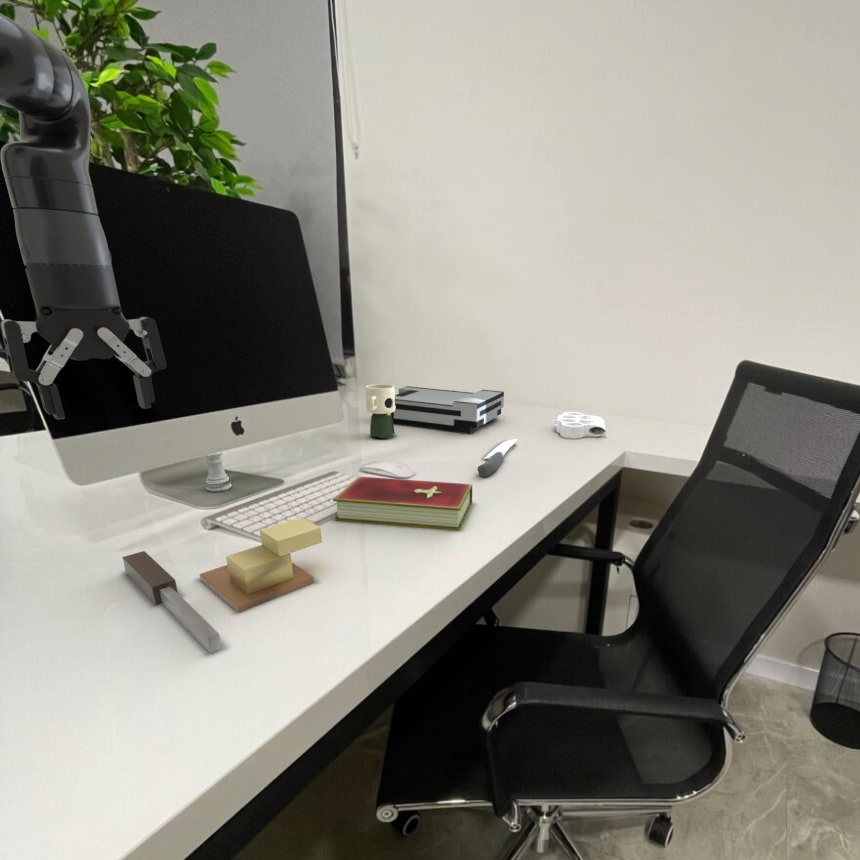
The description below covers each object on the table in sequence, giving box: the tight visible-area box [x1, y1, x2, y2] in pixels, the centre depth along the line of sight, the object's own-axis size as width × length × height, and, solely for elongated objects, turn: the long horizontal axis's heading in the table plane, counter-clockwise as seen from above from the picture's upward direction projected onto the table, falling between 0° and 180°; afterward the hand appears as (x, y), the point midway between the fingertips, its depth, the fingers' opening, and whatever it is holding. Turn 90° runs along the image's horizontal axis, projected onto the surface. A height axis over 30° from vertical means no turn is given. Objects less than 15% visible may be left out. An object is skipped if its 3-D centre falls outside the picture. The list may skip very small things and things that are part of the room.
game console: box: [391, 385, 505, 434], centre depth 158 cm, size 21×32×8 cm, turn 70°
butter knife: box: [122, 550, 223, 655], centre depth 66 cm, size 3×25×3 cm, turn 48°
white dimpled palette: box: [551, 411, 607, 440], centre depth 153 cm, size 3×18×15 cm
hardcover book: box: [332, 476, 473, 532], centre depth 95 cm, size 12×21×4 cm, turn 83°
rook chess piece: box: [205, 451, 233, 493], centre depth 102 cm, size 4×4×8 cm
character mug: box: [365, 383, 396, 439], centre depth 139 cm, size 11×7×13 cm, turn 167°
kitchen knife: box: [477, 439, 518, 478], centre depth 127 cm, size 29×3×5 cm
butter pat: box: [259, 517, 323, 557], centre depth 73 cm, size 6×5×2 cm
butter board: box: [199, 544, 315, 613], centre depth 71 cm, size 10×11×4 cm
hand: (104, 412), depth 64 cm, fingers open, 8 cm apart
